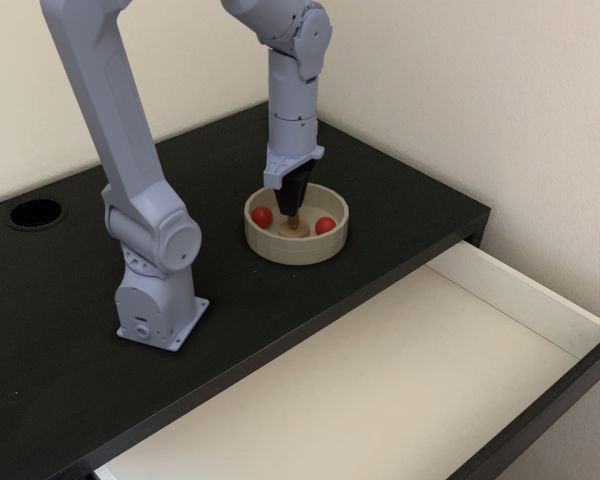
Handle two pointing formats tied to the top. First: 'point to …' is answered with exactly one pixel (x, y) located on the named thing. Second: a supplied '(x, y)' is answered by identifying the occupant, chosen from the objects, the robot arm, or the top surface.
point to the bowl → (312, 209)
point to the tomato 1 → (262, 216)
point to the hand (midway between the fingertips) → (291, 210)
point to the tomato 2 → (324, 225)
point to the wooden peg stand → (294, 227)
